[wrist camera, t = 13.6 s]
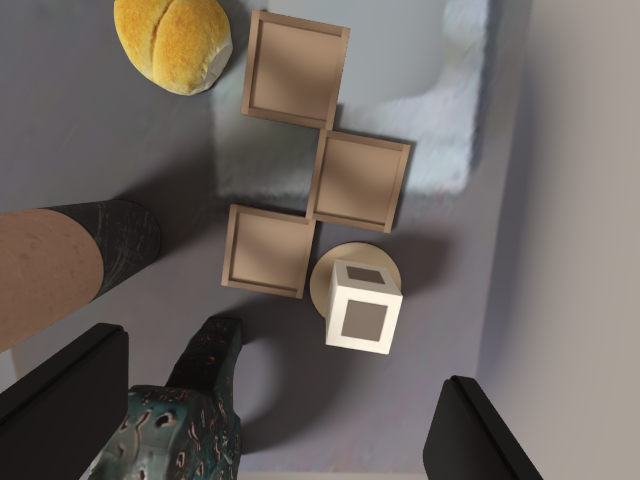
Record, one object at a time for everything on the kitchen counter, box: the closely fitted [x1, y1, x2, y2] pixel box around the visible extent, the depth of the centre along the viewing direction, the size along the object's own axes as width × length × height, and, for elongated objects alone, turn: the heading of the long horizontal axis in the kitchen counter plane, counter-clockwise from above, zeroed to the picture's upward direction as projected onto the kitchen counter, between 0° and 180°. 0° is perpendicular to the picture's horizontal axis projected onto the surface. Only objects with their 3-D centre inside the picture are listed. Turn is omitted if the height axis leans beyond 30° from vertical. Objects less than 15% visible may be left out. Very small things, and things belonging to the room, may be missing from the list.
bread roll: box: [114, 0, 233, 95], centre depth 25 cm, size 8×9×4 cm
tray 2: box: [221, 204, 316, 299], centre depth 30 cm, size 8×8×1 cm
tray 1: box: [241, 9, 350, 131], centre depth 27 cm, size 8×8×1 cm
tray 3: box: [305, 129, 411, 233], centre depth 29 cm, size 8×8×1 cm
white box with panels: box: [326, 259, 403, 354], centre depth 28 cm, size 5×5×7 cm
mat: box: [310, 242, 401, 319], centre depth 31 cm, size 9×9×1 cm
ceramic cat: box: [88, 317, 242, 480], centre depth 25 cm, size 20×6×20 cm, turn 177°
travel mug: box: [0, 200, 161, 353], centre depth 21 cm, size 8×8×20 cm
